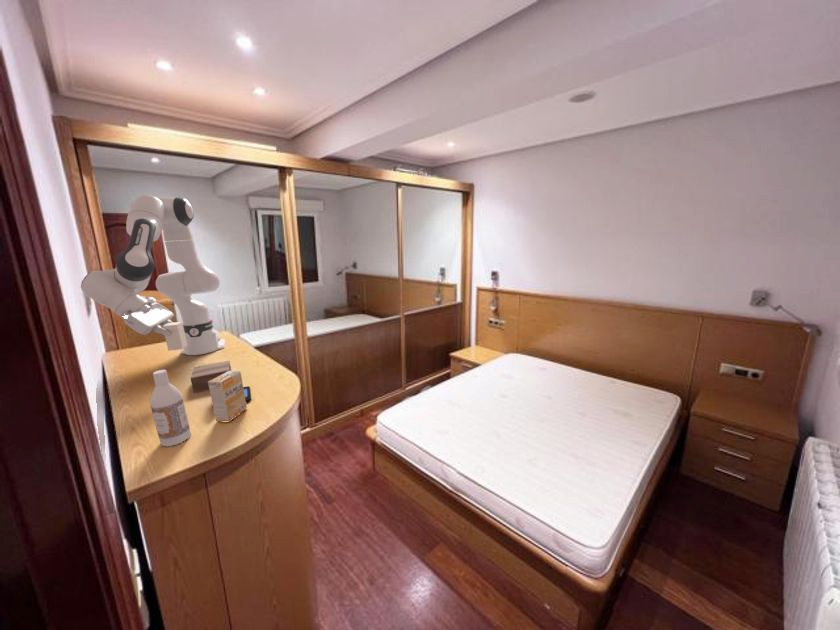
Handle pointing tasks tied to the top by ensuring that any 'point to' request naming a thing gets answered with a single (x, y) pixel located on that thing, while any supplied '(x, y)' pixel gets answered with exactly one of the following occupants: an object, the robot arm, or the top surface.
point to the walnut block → (207, 374)
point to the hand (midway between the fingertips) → (173, 332)
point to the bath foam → (168, 411)
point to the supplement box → (227, 395)
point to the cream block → (175, 336)
